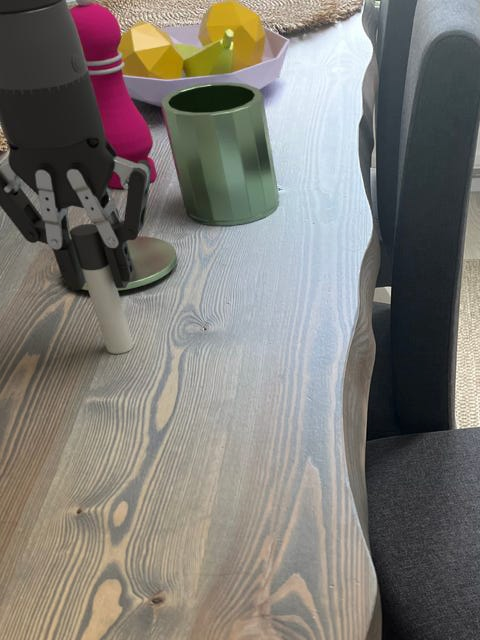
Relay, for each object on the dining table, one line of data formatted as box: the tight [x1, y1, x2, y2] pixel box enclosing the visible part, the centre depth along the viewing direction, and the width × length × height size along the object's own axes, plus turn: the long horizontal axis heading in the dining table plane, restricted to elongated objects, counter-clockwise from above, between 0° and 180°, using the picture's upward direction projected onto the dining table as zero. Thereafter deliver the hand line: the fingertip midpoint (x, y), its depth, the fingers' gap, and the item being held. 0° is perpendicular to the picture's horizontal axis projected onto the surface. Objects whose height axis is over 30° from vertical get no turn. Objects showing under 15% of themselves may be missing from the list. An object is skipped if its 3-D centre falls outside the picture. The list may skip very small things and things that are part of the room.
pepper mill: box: [69, 0, 158, 190], centre depth 115 cm, size 7×7×20 cm
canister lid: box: [68, 207, 178, 291], centre depth 102 cm, size 12×12×6 cm
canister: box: [160, 82, 280, 227], centre depth 112 cm, size 11×11×12 cm
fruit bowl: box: [117, 0, 291, 108], centre depth 139 cm, size 28×27×11 cm
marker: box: [69, 223, 134, 355], centre depth 89 cm, size 2×2×11 cm
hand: (101, 284), depth 89 cm, fingers open, 3 cm apart
